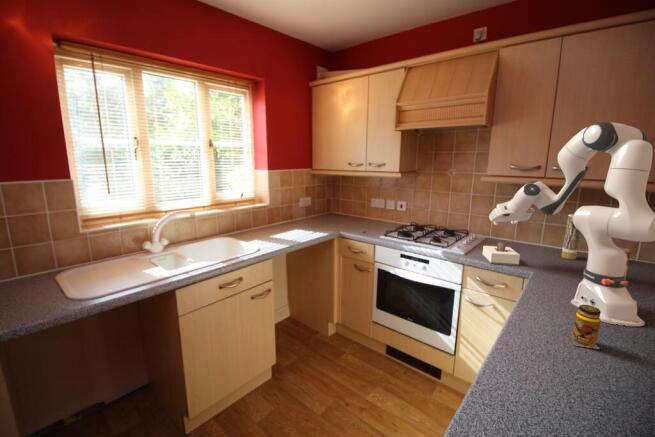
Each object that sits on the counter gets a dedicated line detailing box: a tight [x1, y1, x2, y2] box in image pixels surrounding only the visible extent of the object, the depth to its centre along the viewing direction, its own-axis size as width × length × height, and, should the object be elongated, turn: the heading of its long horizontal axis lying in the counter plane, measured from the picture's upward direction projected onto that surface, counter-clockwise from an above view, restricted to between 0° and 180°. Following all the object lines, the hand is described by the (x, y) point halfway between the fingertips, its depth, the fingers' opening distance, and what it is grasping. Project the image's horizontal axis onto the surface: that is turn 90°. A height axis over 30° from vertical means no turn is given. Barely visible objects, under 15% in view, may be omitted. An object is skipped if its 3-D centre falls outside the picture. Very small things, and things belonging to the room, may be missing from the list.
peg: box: [496, 241, 507, 252], centre depth 175 cm, size 4×4×9 cm
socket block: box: [481, 245, 521, 266], centre depth 176 cm, size 14×14×6 cm
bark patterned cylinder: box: [561, 213, 582, 261], centre depth 179 cm, size 7×7×25 cm
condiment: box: [571, 305, 602, 347], centre depth 100 cm, size 7×8×12 cm
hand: (503, 223), depth 173 cm, fingers open, 8 cm apart
